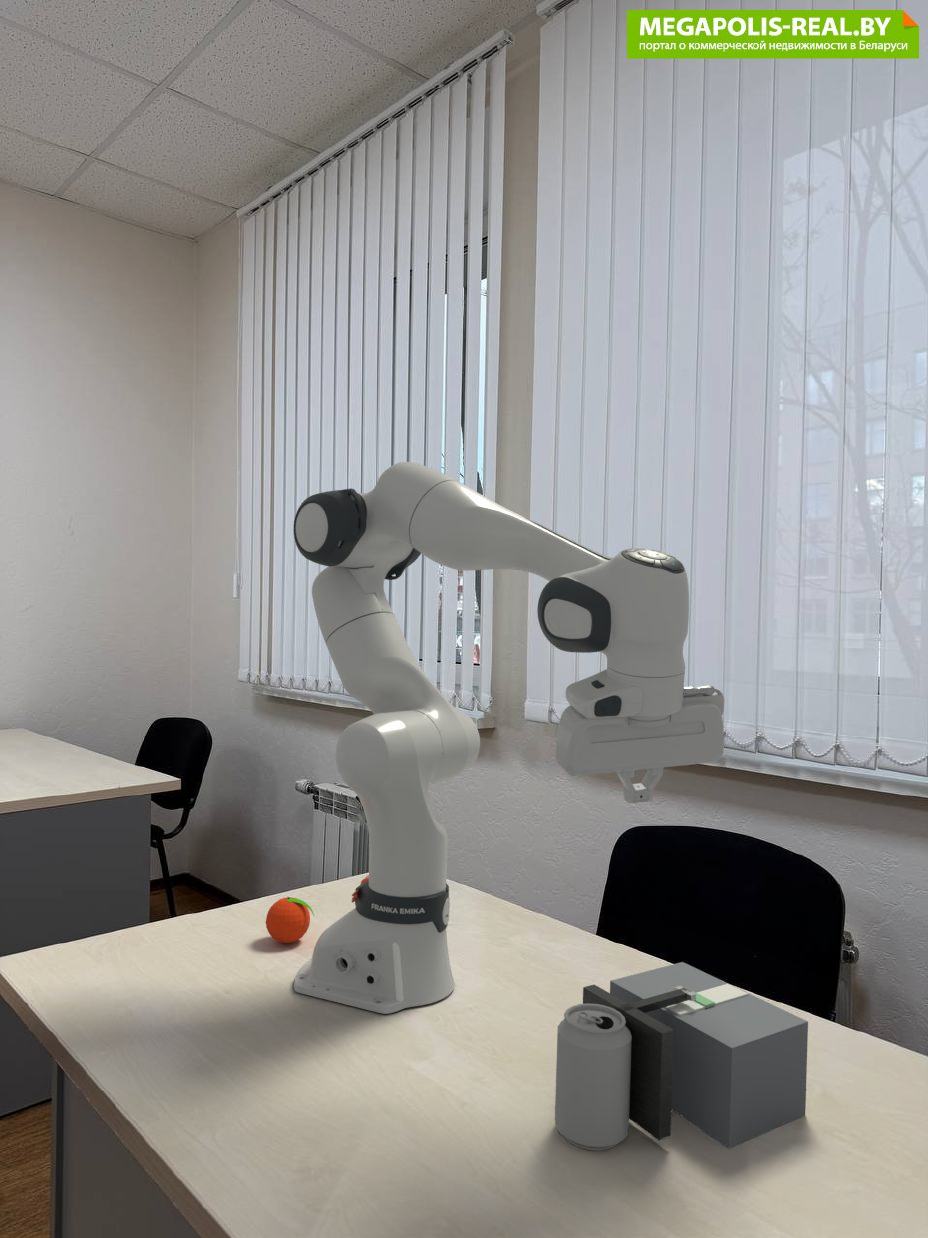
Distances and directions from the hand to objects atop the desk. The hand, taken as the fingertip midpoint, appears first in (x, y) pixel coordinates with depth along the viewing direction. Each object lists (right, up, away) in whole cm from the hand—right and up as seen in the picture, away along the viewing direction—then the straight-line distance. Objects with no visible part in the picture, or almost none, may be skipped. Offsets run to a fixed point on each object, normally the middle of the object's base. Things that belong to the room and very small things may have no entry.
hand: (637, 800), depth 101 cm
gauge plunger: (-1, -30, -10) cm, 31 cm away
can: (-8, -31, -15) cm, 35 cm away
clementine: (-48, -30, +33) cm, 66 cm away
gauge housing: (+6, -31, -6) cm, 32 cm away
